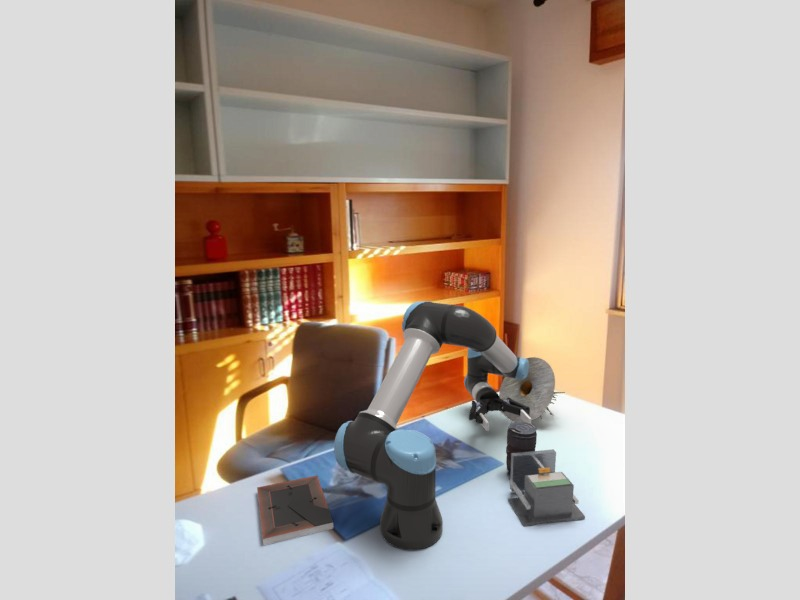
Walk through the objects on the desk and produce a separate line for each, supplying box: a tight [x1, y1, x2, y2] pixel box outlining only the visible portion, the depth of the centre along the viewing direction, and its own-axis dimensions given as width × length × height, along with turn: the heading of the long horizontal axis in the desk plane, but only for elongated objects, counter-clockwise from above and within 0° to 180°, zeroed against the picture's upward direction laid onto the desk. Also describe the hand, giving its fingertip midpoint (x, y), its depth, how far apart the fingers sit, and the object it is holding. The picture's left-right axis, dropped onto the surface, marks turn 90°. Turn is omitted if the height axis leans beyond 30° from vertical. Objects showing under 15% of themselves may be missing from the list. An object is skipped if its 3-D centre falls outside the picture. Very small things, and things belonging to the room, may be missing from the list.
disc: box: [498, 356, 566, 422], centre depth 173 cm, size 25×18×25 cm
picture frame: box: [256, 474, 334, 546], centre depth 121 cm, size 16×2×22 cm
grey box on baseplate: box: [507, 471, 586, 527], centre depth 119 cm, size 16×10×9 cm, turn 99°
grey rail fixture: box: [509, 449, 580, 509], centre depth 121 cm, size 14×12×10 cm
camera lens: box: [505, 421, 538, 477], centre depth 134 cm, size 8×8×15 cm
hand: (509, 424), depth 143 cm, fingers open, 13 cm apart
